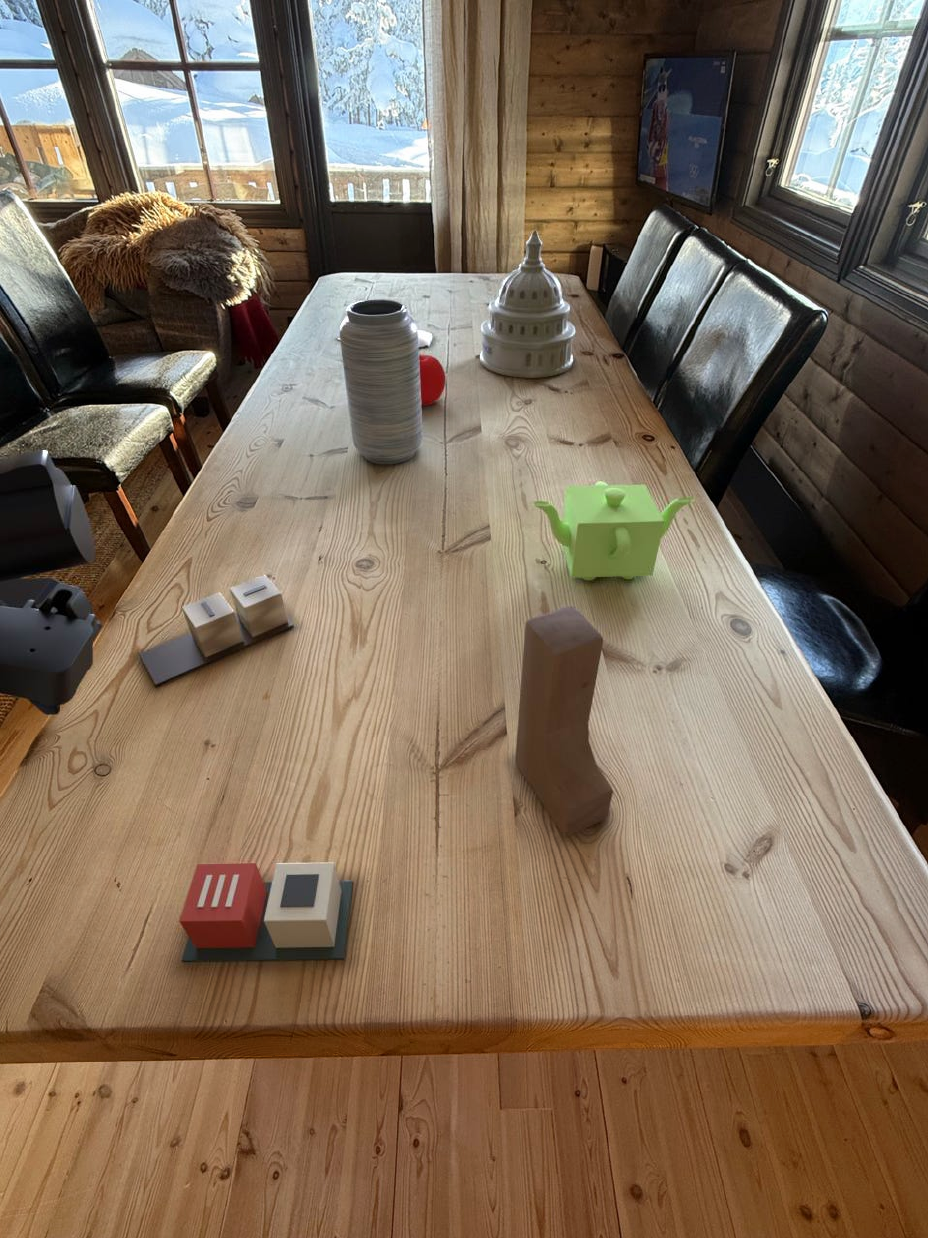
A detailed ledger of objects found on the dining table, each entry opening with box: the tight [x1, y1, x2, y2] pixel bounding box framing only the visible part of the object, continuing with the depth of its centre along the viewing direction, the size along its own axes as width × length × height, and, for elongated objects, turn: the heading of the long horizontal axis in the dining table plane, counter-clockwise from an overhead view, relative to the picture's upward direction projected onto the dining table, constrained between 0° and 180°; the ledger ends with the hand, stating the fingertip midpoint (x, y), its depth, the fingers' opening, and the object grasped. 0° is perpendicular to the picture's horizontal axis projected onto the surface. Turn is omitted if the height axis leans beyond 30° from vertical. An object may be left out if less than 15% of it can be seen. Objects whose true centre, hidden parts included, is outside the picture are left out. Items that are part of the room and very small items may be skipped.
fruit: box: [419, 354, 446, 407], centre depth 123 cm, size 9×9×10 cm
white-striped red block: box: [179, 862, 267, 948], centre depth 49 cm, size 4×4×4 cm
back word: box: [138, 574, 295, 688], centre depth 74 cm, size 16×6×5 cm, turn 127°
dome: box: [479, 229, 576, 379], centre depth 135 cm, size 20×25×20 cm
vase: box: [338, 298, 424, 466], centre depth 103 cm, size 12×12×23 cm
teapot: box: [531, 481, 696, 581], centre depth 83 cm, size 15×13×11 cm
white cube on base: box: [180, 862, 354, 964], centre depth 49 cm, size 12×6×5 cm, turn 91°
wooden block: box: [514, 605, 614, 838], centre depth 54 cm, size 9×4×18 cm, turn 26°
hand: (23, 761), depth 48 cm, fingers open, 9 cm apart
